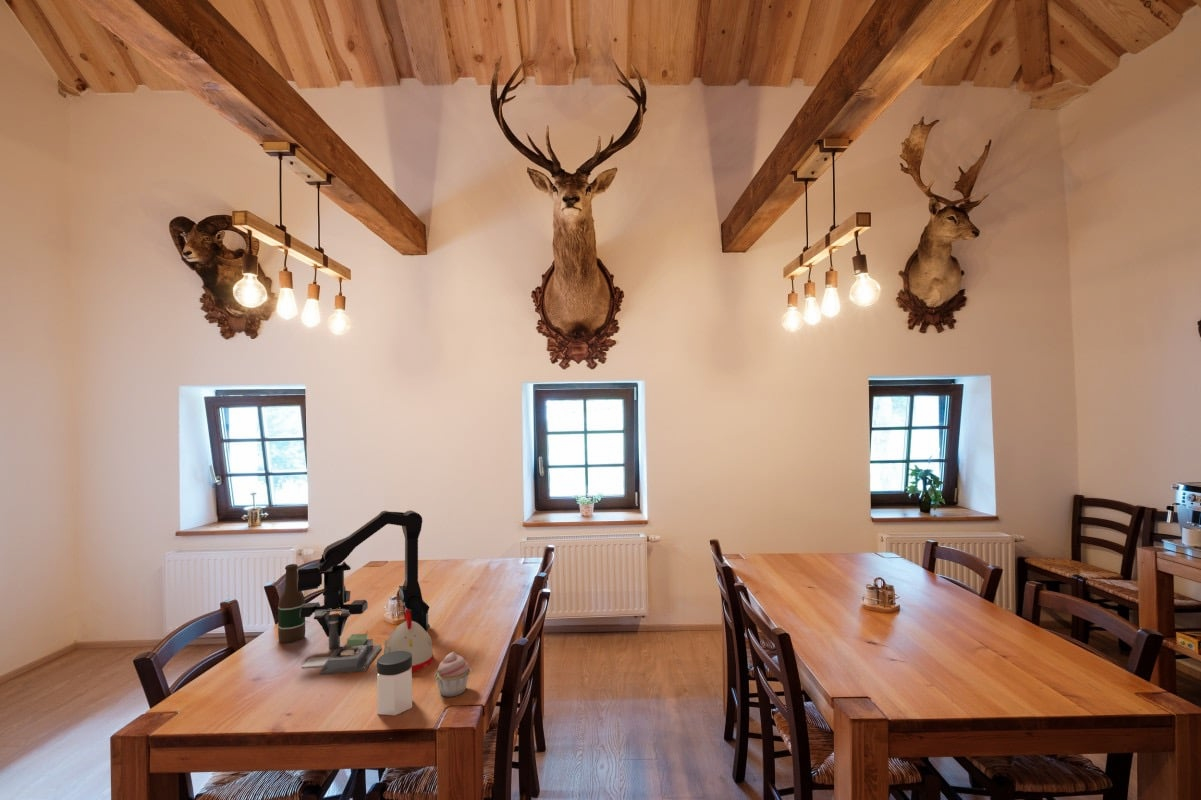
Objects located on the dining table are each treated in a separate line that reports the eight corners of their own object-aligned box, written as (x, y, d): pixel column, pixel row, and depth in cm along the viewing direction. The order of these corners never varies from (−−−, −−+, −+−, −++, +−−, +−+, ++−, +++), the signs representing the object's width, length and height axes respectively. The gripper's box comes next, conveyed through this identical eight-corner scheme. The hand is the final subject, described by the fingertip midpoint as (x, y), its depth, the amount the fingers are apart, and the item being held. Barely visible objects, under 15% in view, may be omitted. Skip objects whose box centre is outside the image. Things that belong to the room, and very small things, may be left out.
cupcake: (472, 696, 140) (472, 656, 140) (434, 703, 137) (433, 662, 138) (470, 680, 149) (470, 642, 149) (434, 686, 146) (433, 647, 146)
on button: (367, 640, 170) (367, 633, 170) (362, 645, 166) (362, 639, 166) (352, 641, 170) (352, 634, 170) (347, 646, 166) (347, 640, 166)
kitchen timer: (385, 677, 152) (385, 622, 152) (380, 659, 164) (379, 607, 165) (437, 666, 158) (436, 613, 159) (428, 649, 170) (427, 599, 171)
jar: (402, 694, 142) (402, 647, 142) (420, 704, 136) (419, 655, 137) (369, 709, 135) (368, 659, 135) (386, 720, 130) (385, 668, 130)
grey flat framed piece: (381, 648, 172) (381, 634, 172) (364, 671, 156) (364, 655, 156) (341, 650, 171) (340, 636, 171) (320, 674, 155) (320, 658, 155)
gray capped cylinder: (342, 644, 175) (342, 612, 176) (338, 649, 172) (338, 616, 172) (330, 645, 175) (330, 613, 175) (326, 650, 171) (325, 617, 172)
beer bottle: (310, 635, 184) (310, 562, 185) (290, 644, 177) (290, 568, 178) (293, 633, 187) (292, 561, 187) (272, 642, 179) (272, 567, 180)
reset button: (356, 654, 161) (356, 649, 162) (351, 659, 158) (351, 654, 158) (343, 655, 161) (343, 650, 161) (338, 660, 158) (338, 655, 158)
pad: (331, 657, 166) (331, 656, 166) (323, 666, 160) (323, 665, 160) (310, 659, 165) (310, 657, 165) (301, 668, 159) (301, 666, 159)
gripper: (372, 577, 183) (373, 624, 183) (313, 580, 181) (313, 628, 181) (361, 587, 172) (362, 638, 171) (298, 590, 170) (298, 642, 169)
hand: (334, 636), depth 174 cm, fingers closed on gray capped cylinder, 3 cm apart
